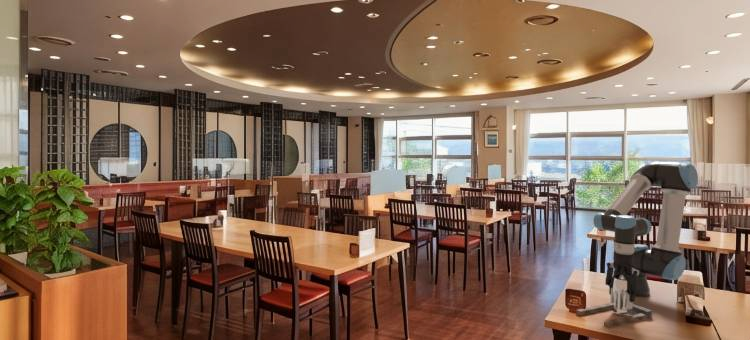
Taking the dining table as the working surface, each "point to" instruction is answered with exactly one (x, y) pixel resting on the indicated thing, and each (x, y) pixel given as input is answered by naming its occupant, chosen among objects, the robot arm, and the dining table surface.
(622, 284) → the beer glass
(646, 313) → the guide track
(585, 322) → the dining table surface
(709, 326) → the dining table surface
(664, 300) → the dining table surface
